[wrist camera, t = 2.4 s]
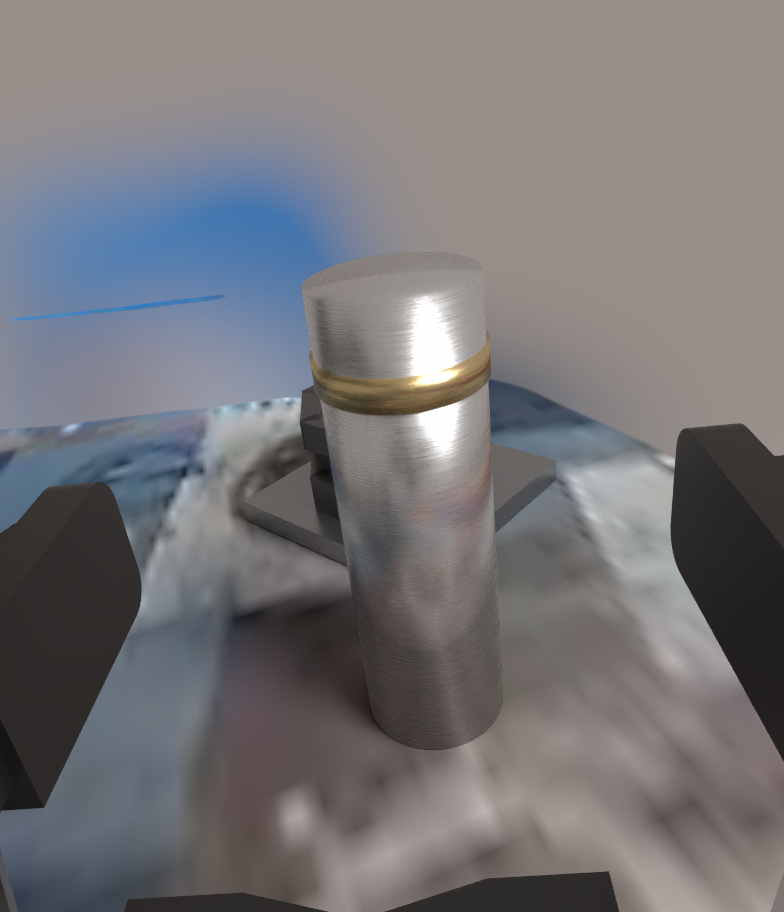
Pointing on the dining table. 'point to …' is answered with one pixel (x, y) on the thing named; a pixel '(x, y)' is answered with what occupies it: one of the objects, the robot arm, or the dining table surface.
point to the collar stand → (314, 499)
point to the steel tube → (414, 484)
